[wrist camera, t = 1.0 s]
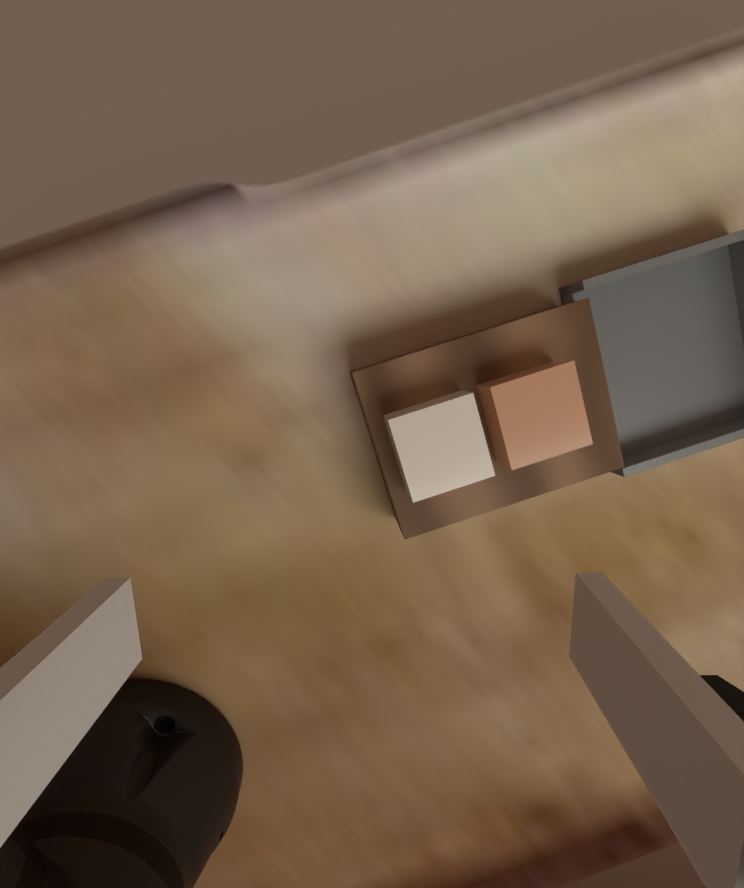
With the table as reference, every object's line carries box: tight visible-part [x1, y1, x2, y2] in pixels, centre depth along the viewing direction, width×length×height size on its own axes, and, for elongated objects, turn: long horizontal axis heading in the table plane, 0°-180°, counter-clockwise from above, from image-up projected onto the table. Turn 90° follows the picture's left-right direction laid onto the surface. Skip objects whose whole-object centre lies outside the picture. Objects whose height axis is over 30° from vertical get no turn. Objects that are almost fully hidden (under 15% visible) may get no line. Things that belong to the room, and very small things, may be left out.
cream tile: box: [383, 391, 495, 503], centre depth 28 cm, size 5×5×2 cm
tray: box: [559, 230, 744, 477], centre depth 31 cm, size 13×13×5 cm
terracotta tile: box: [476, 360, 593, 470], centre depth 28 cm, size 5×5×2 cm
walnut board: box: [350, 298, 625, 539], centre depth 31 cm, size 15×11×4 cm
